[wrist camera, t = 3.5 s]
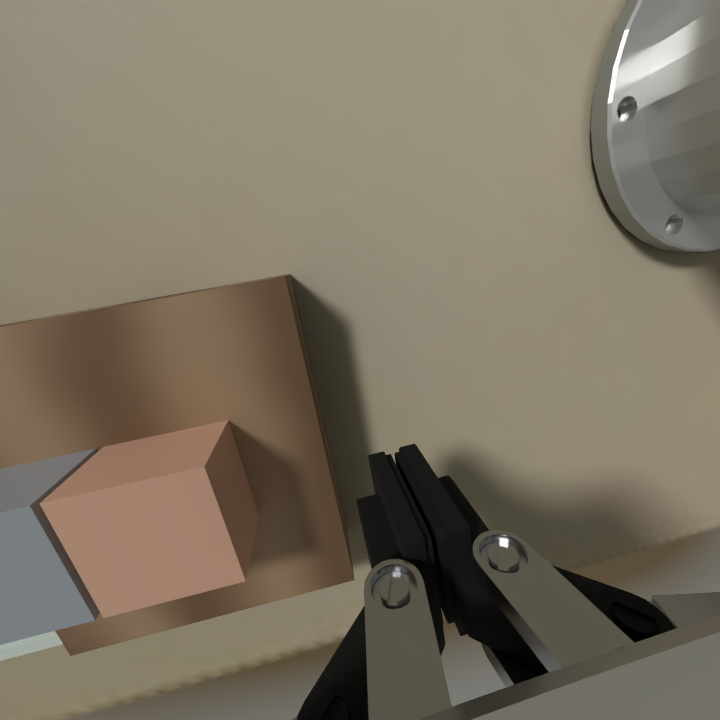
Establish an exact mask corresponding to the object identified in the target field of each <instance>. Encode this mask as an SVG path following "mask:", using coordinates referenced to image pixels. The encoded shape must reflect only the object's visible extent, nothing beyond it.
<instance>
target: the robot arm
mask: <svg viewBox="0 0 720 720" xmlns="http://www.w3.org/2000/svg"><path fill="white" fill-rule="evenodd" d="M591 140H592V153H593V161H594V165H595V169H596V173H597V177H598V181H599V185H600V188H601V190H602V192H603V195H604V197H605V199H606V201H607V203H608V205H609V207H610V209H611V211H612V212H613V213H614V215H615V216H616V217H617V219H618V220H619V221H620V222H621V224H622V225H623V226H624V228H626V229H627V230H628V231H629V232H631V233H632V234H633V235H634V236H636V237H637V238H638V239H639V240H641V241H642V242H645V243H647V244H649V245H652V246H654V247H656V248H658V249H662V250H669V251H675V252H706V251H714V250H719V249H720V0H627V2H626V4H625V6H624V8H623V10H622V12H621V13H620V15H619V17H618V19H617V21H616V23H615V25H614V27H613V29H612V32H611V35H610V37H609V40H608V43H607V46H606V48H605V51H604V54H603V56H602V59H601V62H600V67H599V71H598V76H597V81H596V85H595V90H594V94H593V105H592V118H591ZM368 457H369V463H370V468H371V474H372V479H373V485H374V490H375V495H372V496H368V497H364V498H360V499H357V500H356V501H357V506H358V511H359V516H360V520H361V525H362V530H363V534H364V539H365V543H366V547H367V552H368V556H369V560H370V564H371V568H372V570H371V571H370V572H369V573H368V576H367V578H366V580H365V585H364V605H365V606H364V607H363V609H362V611H361V612H360V614H359V615H358V617H357V618H356V620H355V622H354V623H353V625H352V626H351V628H350V630H349V631H348V633H347V634H346V636H345V638H344V639H343V641H342V642H341V644H340V646H339V647H338V649H337V650H336V652H335V654H334V655H333V657H332V658H331V660H330V662H329V663H328V665H327V666H326V668H325V670H324V671H323V673H322V674H321V676H320V678H319V679H318V681H317V682H316V684H315V686H314V687H313V689H312V690H311V692H310V693H309V695H308V697H307V698H306V700H305V702H304V704H303V706H302V708H301V710H300V712H299V714H298V716H297V717H295V718H293V719H292V720H720V592H714V593H695V594H676V595H658V596H652V601H647V600H645V599H643V598H641V597H639V596H636V595H634V594H632V593H629V592H626V591H624V590H621V589H618V588H615V587H612V586H609V585H606V584H603V583H601V582H598V581H595V580H592V579H589V578H586V577H583V576H580V575H578V574H575V573H572V572H569V571H566V570H563V569H560V568H558V567H555V566H552V565H551V564H550V563H549V562H548V561H547V560H546V559H544V558H543V557H542V556H541V555H540V554H539V553H538V552H537V551H536V550H535V549H534V548H533V547H532V546H531V545H530V544H528V543H527V542H526V541H525V540H524V539H522V538H521V537H520V536H518V535H516V534H514V533H511V532H508V531H504V530H490V531H489V529H488V528H487V527H486V525H485V524H484V523H483V521H482V520H481V518H480V517H479V516H478V514H477V513H476V512H475V510H474V509H473V507H472V506H471V505H470V503H469V502H468V501H467V499H466V498H465V496H464V495H463V494H462V492H461V491H460V490H459V488H458V487H457V485H456V484H455V483H454V481H453V480H452V479H451V478H450V476H444V477H440V478H437V476H436V475H435V473H434V472H433V470H432V469H431V467H430V466H429V464H428V463H427V461H426V459H425V458H424V456H423V455H422V453H421V452H420V450H419V449H418V447H417V446H416V445H415V444H412V445H408V446H404V447H400V448H399V452H397V453H395V460H396V464H395V462H394V460H393V458H392V456H391V454H389V455H385V453H384V452H379V453H375V454H371V455H369V456H368ZM441 608H442V611H443V613H444V616H445V618H446V620H447V622H448V623H449V624H450V623H453V622H455V624H456V627H457V629H458V631H459V634H460V636H463V635H466V634H468V635H469V637H471V638H473V639H475V640H477V641H479V642H481V643H482V648H483V650H484V652H485V654H486V656H487V658H488V659H489V661H490V662H491V664H492V666H493V667H494V669H495V670H496V672H497V674H498V675H499V677H500V678H501V680H502V681H503V683H504V685H505V686H506V688H504V689H501V690H498V691H495V692H493V693H490V694H487V695H484V696H481V697H479V698H476V699H473V700H470V701H467V702H464V703H461V704H459V705H456V706H453V707H452V705H451V701H450V697H449V692H448V688H447V683H446V679H445V674H444V670H443V666H442V661H441V654H442V651H443V649H444V646H445V639H444V632H443V619H442V612H441Z"/></svg>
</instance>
